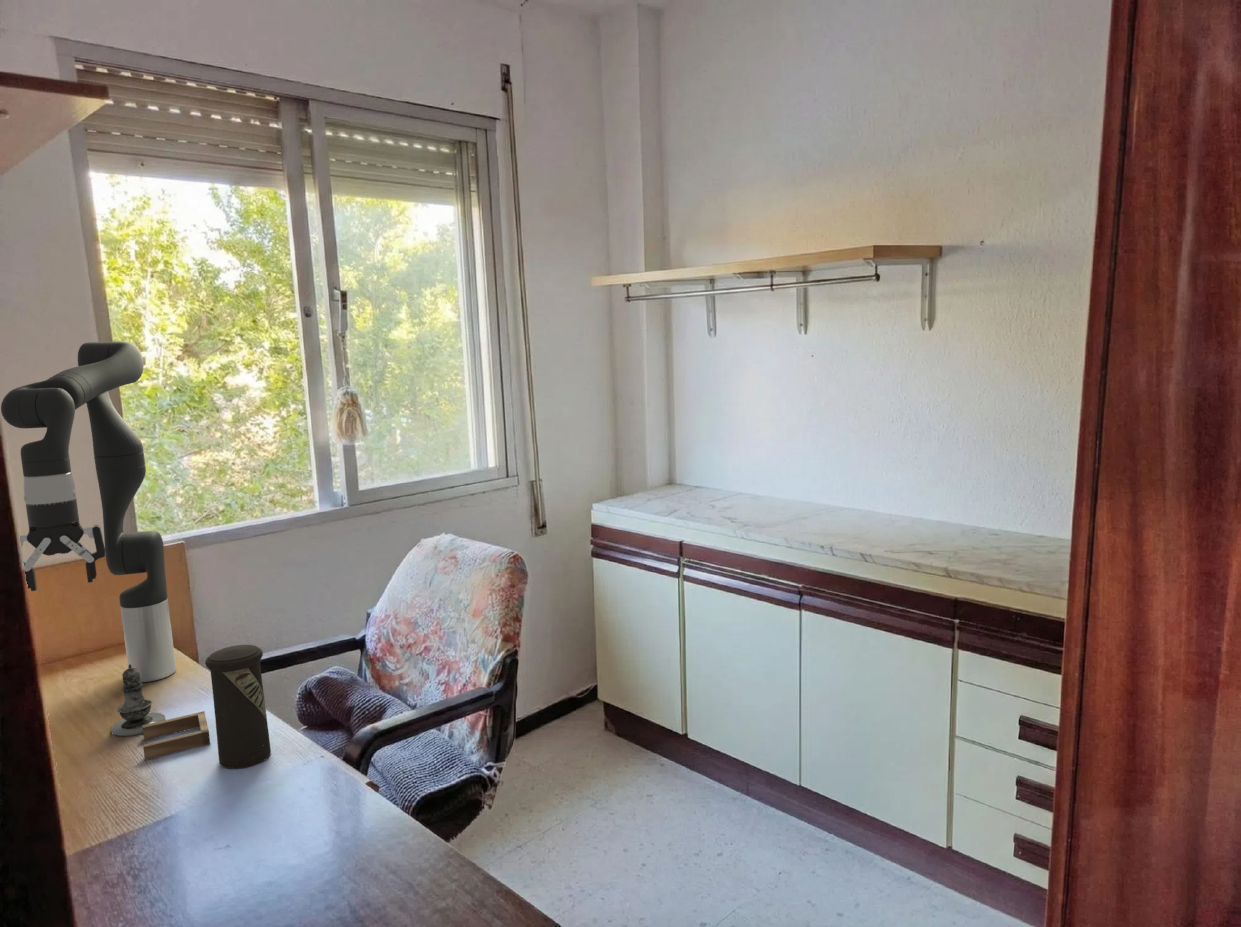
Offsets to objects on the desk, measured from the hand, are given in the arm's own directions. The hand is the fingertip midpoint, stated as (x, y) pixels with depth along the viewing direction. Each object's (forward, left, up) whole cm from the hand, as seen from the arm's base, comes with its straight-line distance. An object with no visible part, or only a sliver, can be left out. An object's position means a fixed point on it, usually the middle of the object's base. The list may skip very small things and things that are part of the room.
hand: (62, 585), depth 145 cm
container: (+26, +25, -30) cm, 47 cm away
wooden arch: (+11, +15, -30) cm, 35 cm away
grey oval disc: (-1, +9, -30) cm, 31 cm away
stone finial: (-1, +9, -30) cm, 31 cm away
